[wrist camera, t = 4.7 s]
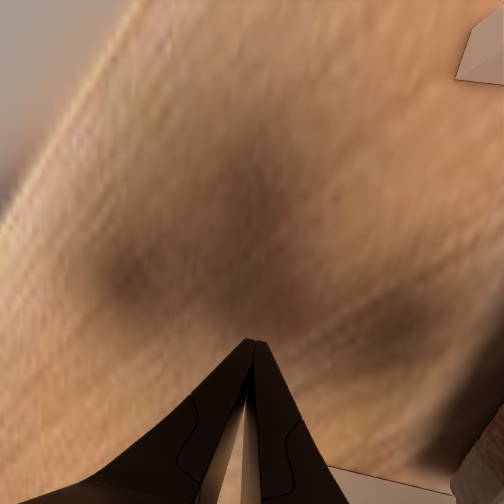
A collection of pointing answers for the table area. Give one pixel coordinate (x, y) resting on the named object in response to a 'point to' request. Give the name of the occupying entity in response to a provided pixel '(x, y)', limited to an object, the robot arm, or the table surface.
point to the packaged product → (483, 468)
